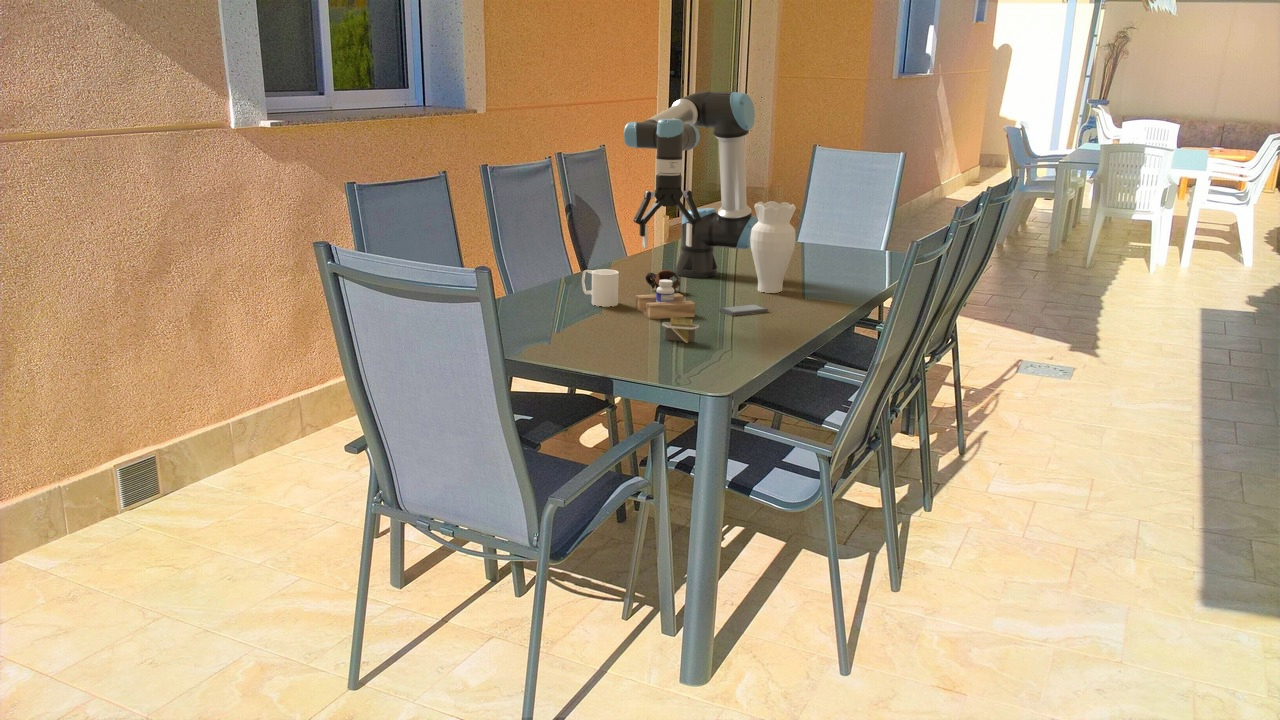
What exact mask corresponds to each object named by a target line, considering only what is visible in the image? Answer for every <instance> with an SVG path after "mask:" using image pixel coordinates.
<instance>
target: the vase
mask: <svg viewBox="0 0 1280 720" xmlns="http://www.w3.org/2000/svg"><path fill="white" fill-rule="evenodd" d="M753 206H754V210H755V214H756V217H757V220H758V222H757V223H756V224H755V225H754V226H753V228H752V231H751V237H750V240H751V247H750V250H751V255H752V258H753V262H754V268H755V272H756V277H757V291H758V292H759V291H760V292H759V293H761V292H765V293H764V294H766V293H775V292H780V291H782V292H783V282H784V278H785V276H786V272H787V270H788V267H789V263H790V261H791V258H792V257H793V253H794V250H795V245H796V229H795V227H794V226H793V225H792V224H791V220H792V218H793V216H794V213H795V211H796V209H797V208H796V205H795V204H794V203H791V204H790V203H789V202H787V201H782V202H780V203H779V202H777V201H773V200H769V201H767V202H765V203H764V202H763V201H758V202H756V203H755V204H754V205H753Z"/></svg>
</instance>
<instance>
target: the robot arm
mask: <svg viewBox="0 0 1280 720" xmlns="http://www.w3.org/2000/svg"><path fill="white" fill-rule="evenodd" d="M755 117H756V113H755V105H754V103H753V99H752V98H751V97H750V95H749V94H747V93H745V92H737V91H710V90H709V91H707V90H706V91H704V90H703V91H698V92H695V93H691V94H688V95H686V96H684V97H681V98H679V99H677V100H676V101H674V102H673V103H672V105H671V107H668V108H666V109H665V110H663V111H661V112H659V113H656V114H655V115H653V116H650V118H647V119H645V120H644V121H639V122H638V121H629V122H627V124H626V125H625V126H624V129H623V140H624V141H623V142H624V144H625V145H626V146H627V147H628V148H635V149H654V150H656V156H655V157H656V159H655V160H656V161H655V162H656V163H655V173H657V174H656V175H655V190H654V191H649V190H645V191H644V195H643V199H642V201H641V203H640V206H639V207H638V209H637V212H636V214H635V216H634V218H633V221H632V222H633V223H635V224H638V226H639V236H640V237H642V243H641V244H642V245H641V246H642V248H644V249H648V247H649V246H648V244H649V242H648V241H649V236H648V235H649V226H648V225H647V223H648V222H650V220H651V218H652V217H653V216H654V215H655V214H656V212H657V211H658V210H659V209H660V208H661V207H663V208H664V207H675V206H676V207H677V209H678V210H679V211H680V212H681V213H682V218H681V219H682V220H681V235H680V237H681V239H680V253H679V256H678V259H677V262H676V265H675V270H674V272H675V273H676V274H677V275H678V276H680V277H685V278H695V279H697V278H698V279H702V278H703V279H704V278H713V277H717V276H718V274H719V267H718V264H717V260H716V257H715V253H714V252H715V247H716V248H717V247H718V248H727V249H736V250H748V249H751V240H750V237H751V231H752V228H753V226H754V225H755V224H756V223H757V222H758V218H757V215H756V216H755V215H752V208H751V207H750V206H748V204H747V203H748V202H747V177H746V176H747V175H746V147H745V146H746V145H745V141H746V140H745V138H746V137H748V135H749V134H750V133H749V132H750V130H752V129H753V127H754V124H755ZM698 128H705V129H713V132H712V133H713V136H714V137H715V138H716V139H717V140H718V158H719V176H720V177H719V179H720V197H721V198H720V200H721V206H720V207H719V208H718V210H717V211H716V208H715V207H703V208H697V206H696V204H695V201H694V199H693V192H692V190H690V189H685V190H682V187H683V186H682V184H683V183H682V182H683V181H682V180H683V176H682V175H681V173H683V152H684V151H690V150H692V149H694V148H696V147H697V146H698V144H699V143H700V138H701V135H700V131H699V129H698ZM653 197H654V198H655V199H656V200H655V201H654V202H653V203H652V205H651V207H650V208H649V209H648V210H647V208H648V206H649V204H650V202H651V200H652V199H653ZM682 197H683V198H685V199H686V202H687V204H688V207H689V209H687V208H686V207H685V205H684V204H683V203H682V201H681V199H682Z"/></svg>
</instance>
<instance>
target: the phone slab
mask: <svg viewBox="0 0 1280 720" xmlns="http://www.w3.org/2000/svg"><path fill="white" fill-rule="evenodd" d="M765 311H768V312H769V308H767V307H764V306H761V305H759V304H756V303H755V304H753V303H752V304H743V305H734V306H723V307H719V312H720V313H723V314H727V315H728V316H730V315H731V317H733V316H734V317H735V316H736V315H737V316H744V314H746V315H753V314H752V313H756V314H760V313H759V312H765ZM765 313H766V312H765Z"/></svg>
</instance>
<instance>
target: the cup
mask: <svg viewBox="0 0 1280 720" xmlns="http://www.w3.org/2000/svg"><path fill="white" fill-rule="evenodd" d="M586 273H588V274H591V290H587V289H586V284H585V279H586ZM619 274H620V273H619V271H618V270H615V269H610V268H609V269H603V268H602V269H595V270H591V269H590V270H589V269H585V270H583V271H582V274H581V275H582V276H581V286H582V292H583V293H584V294H585V295H591V305H592V306H594V305H596V306H595V307H599V306H602V308H609V307H610V306H612V307H616V306H618V305H619V278H620V277H619V276H620V275H619Z"/></svg>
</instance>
